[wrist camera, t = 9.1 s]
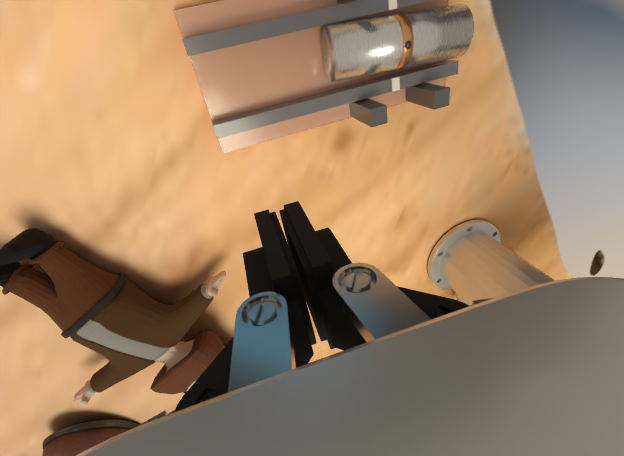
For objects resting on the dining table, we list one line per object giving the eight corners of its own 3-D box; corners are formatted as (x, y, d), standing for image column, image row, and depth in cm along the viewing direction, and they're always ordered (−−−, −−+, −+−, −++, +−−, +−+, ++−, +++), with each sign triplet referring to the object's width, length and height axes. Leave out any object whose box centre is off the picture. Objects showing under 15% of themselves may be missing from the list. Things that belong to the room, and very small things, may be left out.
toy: (79, 174, 26) (307, 359, 39) (116, 152, 34) (292, 310, 48) (-123, 357, 27) (161, 473, 41) (-40, 292, 36) (173, 406, 49)
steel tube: (445, 3, 31) (479, 3, 28) (440, 55, 34) (470, 60, 30) (318, 24, 29) (336, 26, 25) (323, 77, 32) (340, 86, 28)
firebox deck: (439, 90, 37) (477, 99, 32) (222, 150, 33) (227, 170, 28) (443, -45, 30) (492, -62, 25) (174, 11, 27) (168, 5, 21)
